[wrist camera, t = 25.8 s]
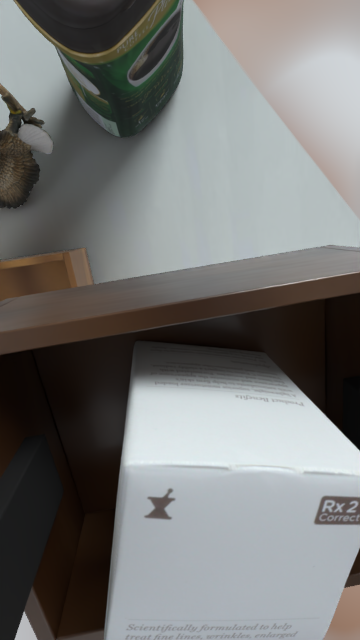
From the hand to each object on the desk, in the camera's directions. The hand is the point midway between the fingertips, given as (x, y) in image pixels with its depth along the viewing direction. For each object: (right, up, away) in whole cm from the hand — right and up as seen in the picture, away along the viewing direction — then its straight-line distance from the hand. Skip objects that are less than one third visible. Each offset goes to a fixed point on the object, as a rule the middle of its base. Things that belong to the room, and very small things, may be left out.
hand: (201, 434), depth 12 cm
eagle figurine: (-17, +20, +17) cm, 31 cm away
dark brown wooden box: (0, +1, +3) cm, 3 cm away
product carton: (0, +1, +3) cm, 3 cm away
